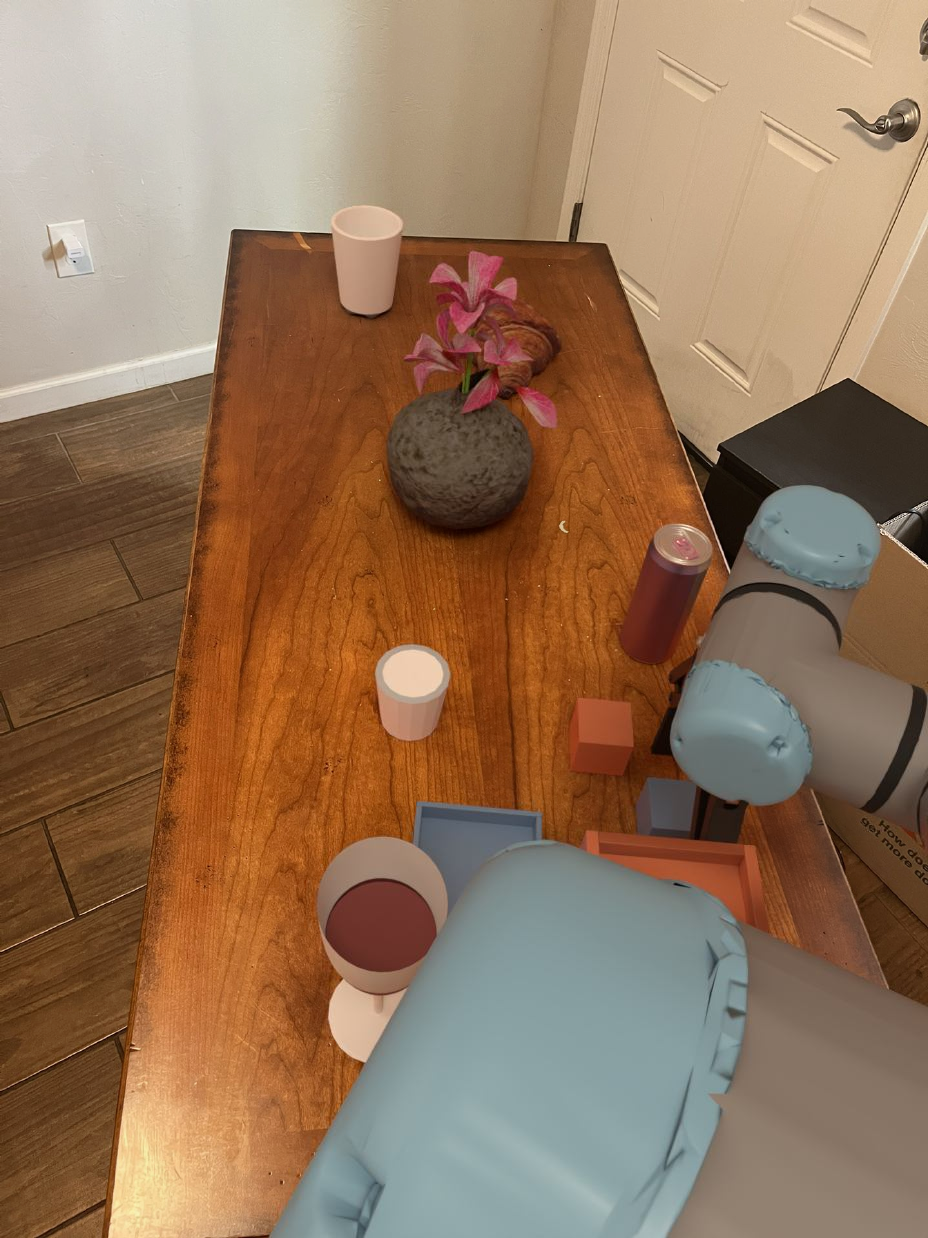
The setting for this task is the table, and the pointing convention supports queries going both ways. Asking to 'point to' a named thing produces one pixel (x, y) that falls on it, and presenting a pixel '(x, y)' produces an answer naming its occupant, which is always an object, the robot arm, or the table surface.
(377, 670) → the shot glass
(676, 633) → the beverage can
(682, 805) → the slate block
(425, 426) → the vase
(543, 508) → the table surface
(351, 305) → the cup
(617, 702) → the terracotta block
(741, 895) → the stand
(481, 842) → the tray
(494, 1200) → the robot arm
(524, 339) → the pastry
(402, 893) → the wineglass
